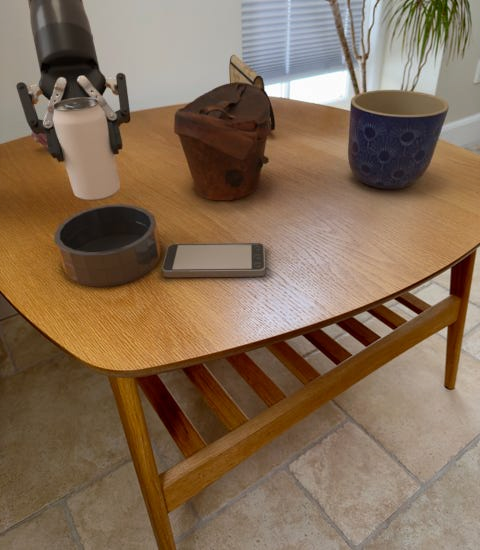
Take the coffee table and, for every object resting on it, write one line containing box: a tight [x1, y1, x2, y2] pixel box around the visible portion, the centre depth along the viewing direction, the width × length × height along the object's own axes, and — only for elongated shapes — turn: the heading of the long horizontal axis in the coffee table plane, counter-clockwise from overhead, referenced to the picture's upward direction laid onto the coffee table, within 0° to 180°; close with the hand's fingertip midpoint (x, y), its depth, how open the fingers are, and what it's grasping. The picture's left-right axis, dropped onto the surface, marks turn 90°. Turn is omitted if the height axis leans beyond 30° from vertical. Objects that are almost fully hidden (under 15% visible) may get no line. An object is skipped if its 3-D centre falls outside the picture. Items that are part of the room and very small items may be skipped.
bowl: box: [53, 203, 162, 288], centre depth 66 cm, size 15×15×6 cm
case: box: [173, 82, 272, 201], centre depth 81 cm, size 18×20×18 cm
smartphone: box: [161, 242, 266, 278], centre depth 65 cm, size 7×1×15 cm
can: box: [52, 97, 121, 202], centre depth 58 cm, size 6×6×12 cm
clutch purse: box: [228, 54, 276, 131], centre depth 114 cm, size 30×7×15 cm, turn 13°
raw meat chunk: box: [30, 131, 49, 150], centre depth 104 cm, size 10×5×7 cm, turn 55°
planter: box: [347, 89, 450, 190], centre depth 83 cm, size 17×17×15 cm
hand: (88, 155), depth 56 cm, fingers closed on can, 6 cm apart
